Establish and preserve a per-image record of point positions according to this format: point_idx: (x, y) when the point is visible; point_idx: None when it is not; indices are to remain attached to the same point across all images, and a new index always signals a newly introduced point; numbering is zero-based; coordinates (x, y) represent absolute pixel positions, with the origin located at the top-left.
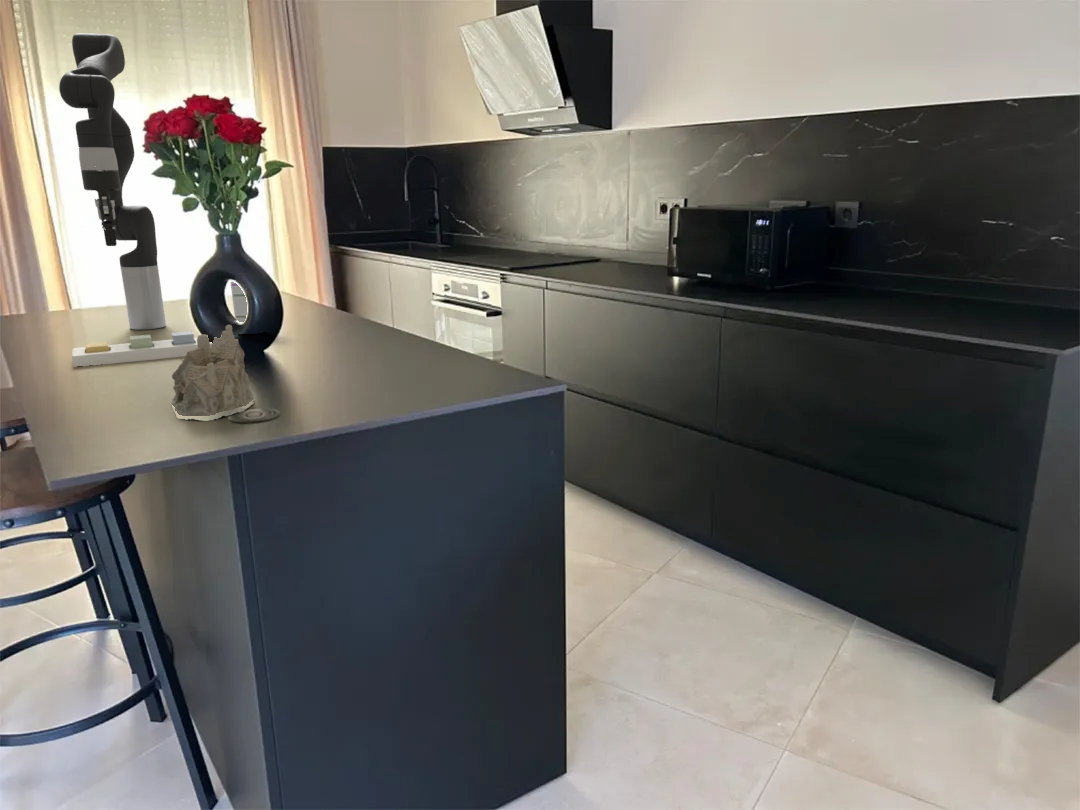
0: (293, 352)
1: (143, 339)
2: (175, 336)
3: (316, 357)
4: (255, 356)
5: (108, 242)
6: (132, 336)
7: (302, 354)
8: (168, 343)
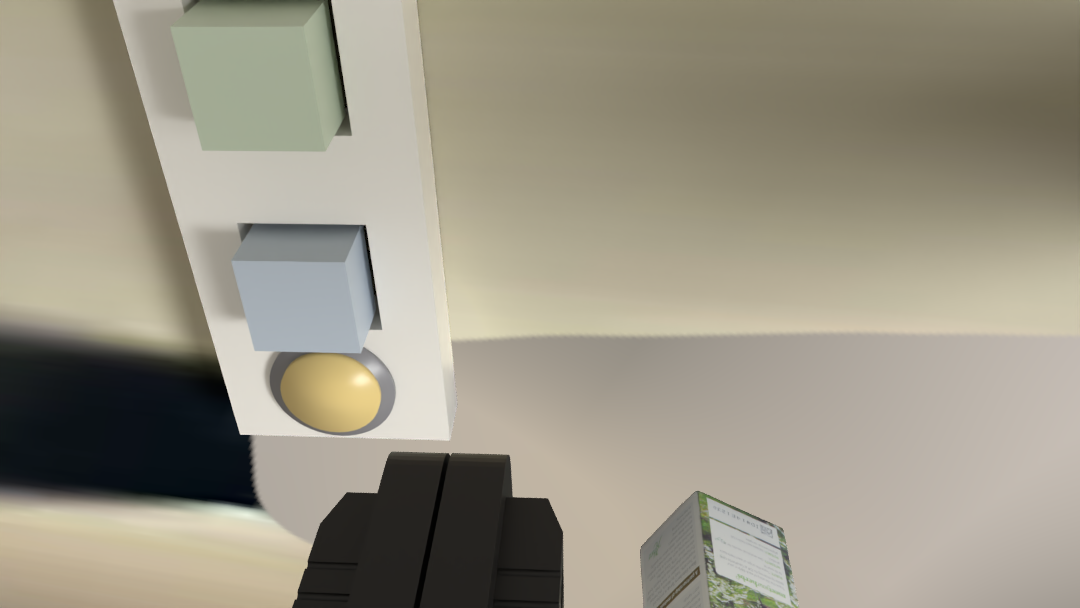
0: (173, 571)
1: (193, 103)
2: (235, 268)
3: (56, 603)
4: (129, 466)
5: (338, 519)
6: (290, 45)
7: (124, 584)
8: (296, 208)
